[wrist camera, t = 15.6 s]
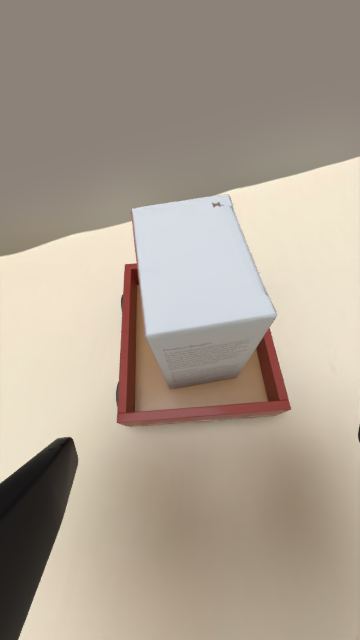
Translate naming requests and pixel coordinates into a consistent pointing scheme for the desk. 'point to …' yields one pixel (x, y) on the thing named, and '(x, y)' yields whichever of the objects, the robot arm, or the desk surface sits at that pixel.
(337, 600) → the desk surface
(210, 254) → the small box
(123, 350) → the cart
